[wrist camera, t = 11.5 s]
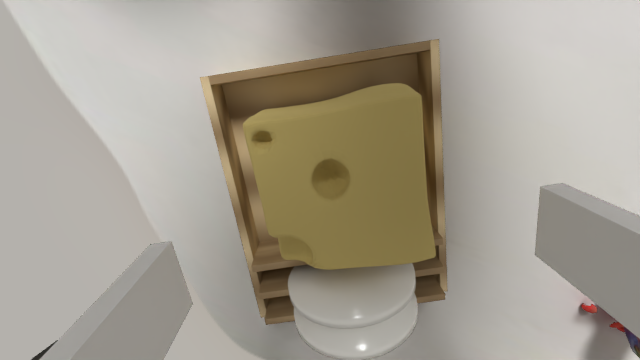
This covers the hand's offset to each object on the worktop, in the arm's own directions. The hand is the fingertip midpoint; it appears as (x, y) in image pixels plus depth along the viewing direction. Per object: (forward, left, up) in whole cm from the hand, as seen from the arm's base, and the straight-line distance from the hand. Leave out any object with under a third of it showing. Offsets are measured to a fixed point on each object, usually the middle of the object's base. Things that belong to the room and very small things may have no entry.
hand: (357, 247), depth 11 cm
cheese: (0, 0, -17) cm, 17 cm away
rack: (+3, 0, -17) cm, 18 cm away
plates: (+11, 0, -16) cm, 20 cm away
